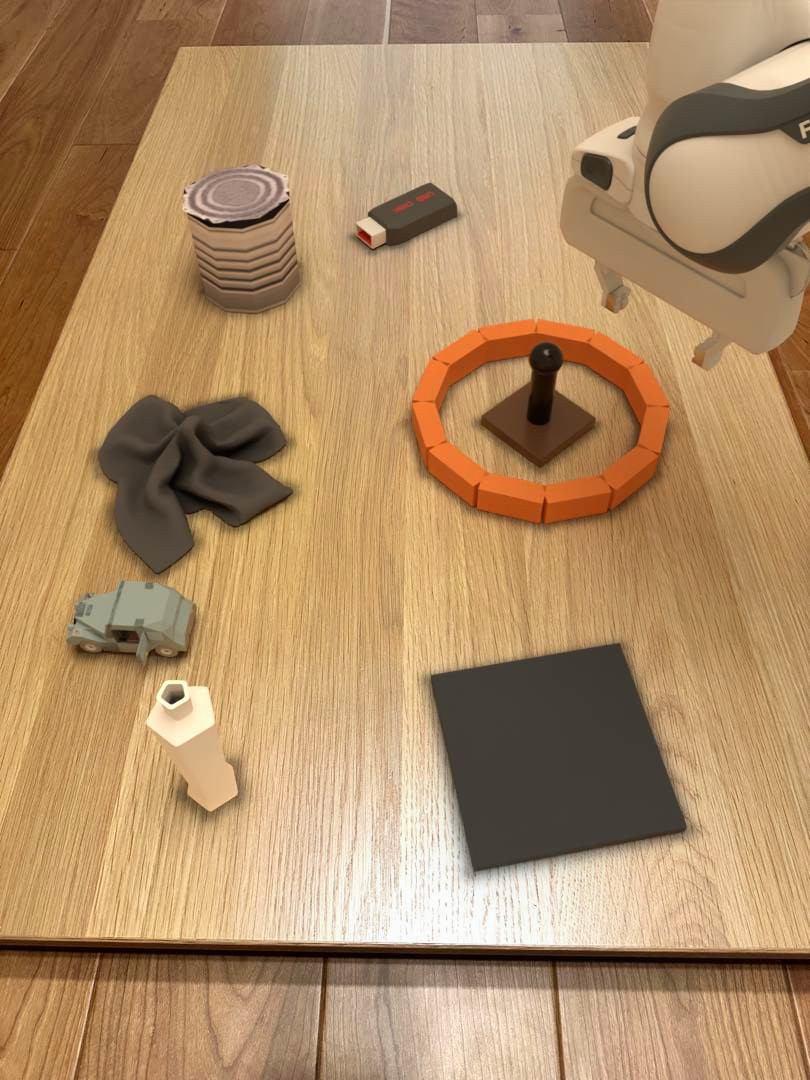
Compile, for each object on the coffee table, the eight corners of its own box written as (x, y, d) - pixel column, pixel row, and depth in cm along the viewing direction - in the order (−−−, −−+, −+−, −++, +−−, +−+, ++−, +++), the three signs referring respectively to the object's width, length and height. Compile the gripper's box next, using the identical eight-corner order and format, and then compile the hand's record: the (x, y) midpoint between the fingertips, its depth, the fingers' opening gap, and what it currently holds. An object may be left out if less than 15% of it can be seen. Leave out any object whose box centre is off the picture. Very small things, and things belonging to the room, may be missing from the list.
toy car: (86, 609, 85) (70, 577, 81) (199, 615, 84) (188, 584, 81) (65, 674, 81) (47, 644, 77) (184, 681, 81) (171, 651, 77)
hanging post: (480, 423, 98) (485, 344, 89) (535, 385, 101) (545, 304, 92) (539, 468, 94) (550, 389, 86) (594, 426, 97) (610, 346, 89)
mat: (618, 647, 82) (619, 642, 81) (685, 831, 72) (687, 827, 72) (430, 679, 80) (430, 674, 80) (473, 871, 71) (474, 867, 70)
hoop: (365, 421, 98) (364, 400, 96) (532, 311, 108) (534, 289, 105) (544, 565, 87) (547, 545, 85) (711, 428, 97) (718, 407, 94)
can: (205, 321, 108) (183, 228, 98) (198, 258, 114) (177, 165, 105) (308, 306, 109) (296, 213, 99) (295, 244, 115) (283, 151, 106)
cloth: (101, 404, 100) (85, 359, 95) (283, 384, 101) (275, 339, 96) (90, 582, 87) (70, 540, 82) (299, 556, 88) (291, 513, 83)
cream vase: (229, 823, 73) (190, 735, 61) (176, 805, 74) (128, 715, 62) (254, 768, 76) (222, 673, 64) (203, 751, 77) (162, 655, 65)
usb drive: (457, 215, 118) (458, 195, 116) (377, 254, 114) (376, 234, 112) (430, 196, 121) (430, 176, 119) (351, 233, 117) (350, 213, 114)
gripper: (849, 225, 64) (790, 381, 75) (613, 109, 74) (591, 262, 85) (791, 267, 62) (739, 421, 73) (555, 141, 72) (540, 294, 83)
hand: (658, 334), depth 79 cm, fingers open, 8 cm apart
